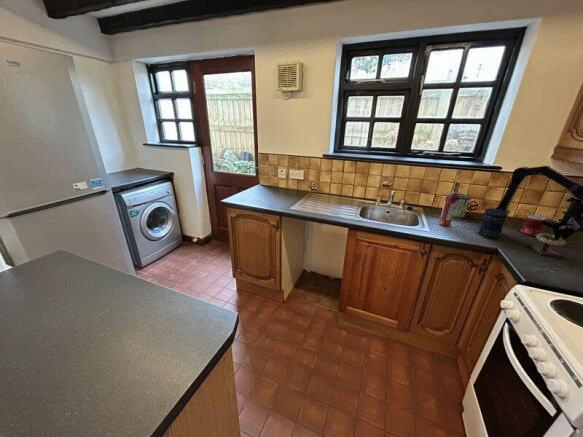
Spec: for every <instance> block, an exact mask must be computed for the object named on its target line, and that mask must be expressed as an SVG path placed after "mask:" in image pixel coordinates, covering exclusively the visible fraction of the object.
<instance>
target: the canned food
mask: <svg viewBox="0 0 583 437" xmlns="http://www.w3.org/2000/svg"><path fill="white" fill-rule="evenodd" d="M545 219H546V218H545V217H544V216H541V215H536V214H527V215H526V217H525V220H524V221H523V223H522V226H521V229H520V233H521V234H523V235H526V236H528V237H536V234H539V233H541V230H542V229H543V226H544V224H542V222H543V220H545Z"/></svg>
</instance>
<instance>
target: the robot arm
mask: <svg viewBox="0 0 583 437" xmlns="http://www.w3.org/2000/svg"><path fill="white" fill-rule="evenodd" d="M536 175H543V176H545V178H548V179H549V180H551V181H553V182H555V183H557V184H558V185H560V186H562V187H563V188H565V189H566V190H568V192H570V194H572V195H573V196H572V197H568V198H566V199H565V201H566V202H570V203H569V205H568V207H567V208H566V211H565V210H564V211H562V214H563V216H562V218H558V221H557V220H555V219H551V218H545V220H543V222H542V224H543V226H545V227H547V228H550V229H553V230H552V231H553V235H554V236H555V240H558V239H559V238H562V239H564V240H565V241H566V240H567V239H568V238H569V237H571V236H572V235H573V234H577V233H583V183H582V182H578V181H576V180H574V179H572V178H570V177H568V176H567V175H565V174H563V173H561V172H559V171H557V170H555V169H554V168H553V167H551V166H550V165H543V166H534V167H528V166H521V167H518V168H515V169H514V170H513V171H512V175H511V180H510V183H509V186H508V188H507V189H506V191H505V193H504V195H503V197H502V199H501V200H500V202H499V204H498V205H497V206H496V208H495V209H500V210H504V211H506V212H507V216H506V218H508V215H509V214H510V212H511V210H509V206H510V204H511V203H512V201H513V199H514V197H515V195H516V194H517V192H518V191H519V188H520V186H521V185H522V184H523V183H524V182H525V181H526V180H527V178H529V176H530V177H531V176H536ZM480 227H481V226H479V227H478V228H479V229H480ZM555 240H554V241H555Z"/></svg>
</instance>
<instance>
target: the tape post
mask: <svg viewBox="0 0 583 437" xmlns="http://www.w3.org/2000/svg"><path fill="white" fill-rule="evenodd" d="M547 239H549V240H553V239H554V238H552V237H548V238H547ZM553 241H554V240H553ZM550 246H551V245H549V244H546V243H543V245H537V244H528V245H527V248H530V249H531V250H532V251H534V252H535V253H537V254H538V255H540V256H542V257H543V256H546V257H556V258H561V257H562V254H561V253H559V252H558V251H556V250H554V249H552V248H551V247H550Z"/></svg>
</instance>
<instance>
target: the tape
mask: <svg viewBox="0 0 583 437" xmlns="http://www.w3.org/2000/svg"><path fill="white" fill-rule="evenodd" d="M548 237H552V238H554V239H553V240H549V239H548ZM535 239H536V240H537V241H539V242H541V243H543V244H545V243H546V244H549V245H550V246H554V247H562V246H564V245H566V244H567V242H566V239H565V240H564V239H562V238H561V237H560V238H559V239H558V240H555V236H554V234H551V233H545V232H539V234H536V236H535Z"/></svg>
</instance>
